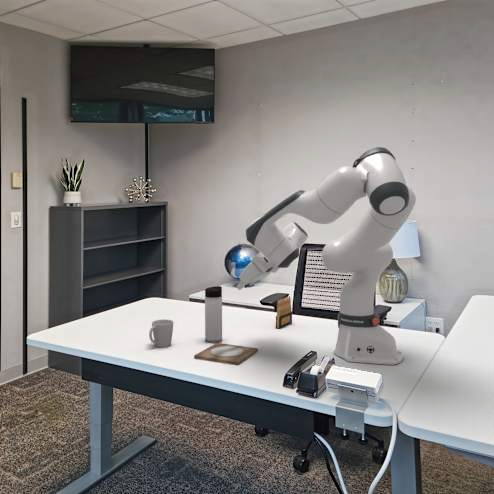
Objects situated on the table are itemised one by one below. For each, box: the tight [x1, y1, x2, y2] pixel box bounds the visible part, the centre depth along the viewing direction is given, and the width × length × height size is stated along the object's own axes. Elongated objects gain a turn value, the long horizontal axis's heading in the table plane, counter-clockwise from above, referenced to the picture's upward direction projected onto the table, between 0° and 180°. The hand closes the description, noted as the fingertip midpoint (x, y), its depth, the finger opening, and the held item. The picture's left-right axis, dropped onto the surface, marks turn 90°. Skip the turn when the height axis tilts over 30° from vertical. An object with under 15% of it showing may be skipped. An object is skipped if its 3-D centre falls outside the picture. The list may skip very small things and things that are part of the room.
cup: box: [148, 319, 174, 348], centre depth 175 cm, size 8×10×8 cm
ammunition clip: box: [275, 295, 293, 330], centre depth 203 cm, size 11×2×12 cm, turn 146°
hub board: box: [193, 342, 259, 366], centre depth 165 cm, size 16×16×1 cm
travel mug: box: [204, 285, 223, 344], centre depth 181 cm, size 6×7×20 cm
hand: (244, 286), depth 174 cm, fingers open, 8 cm apart
